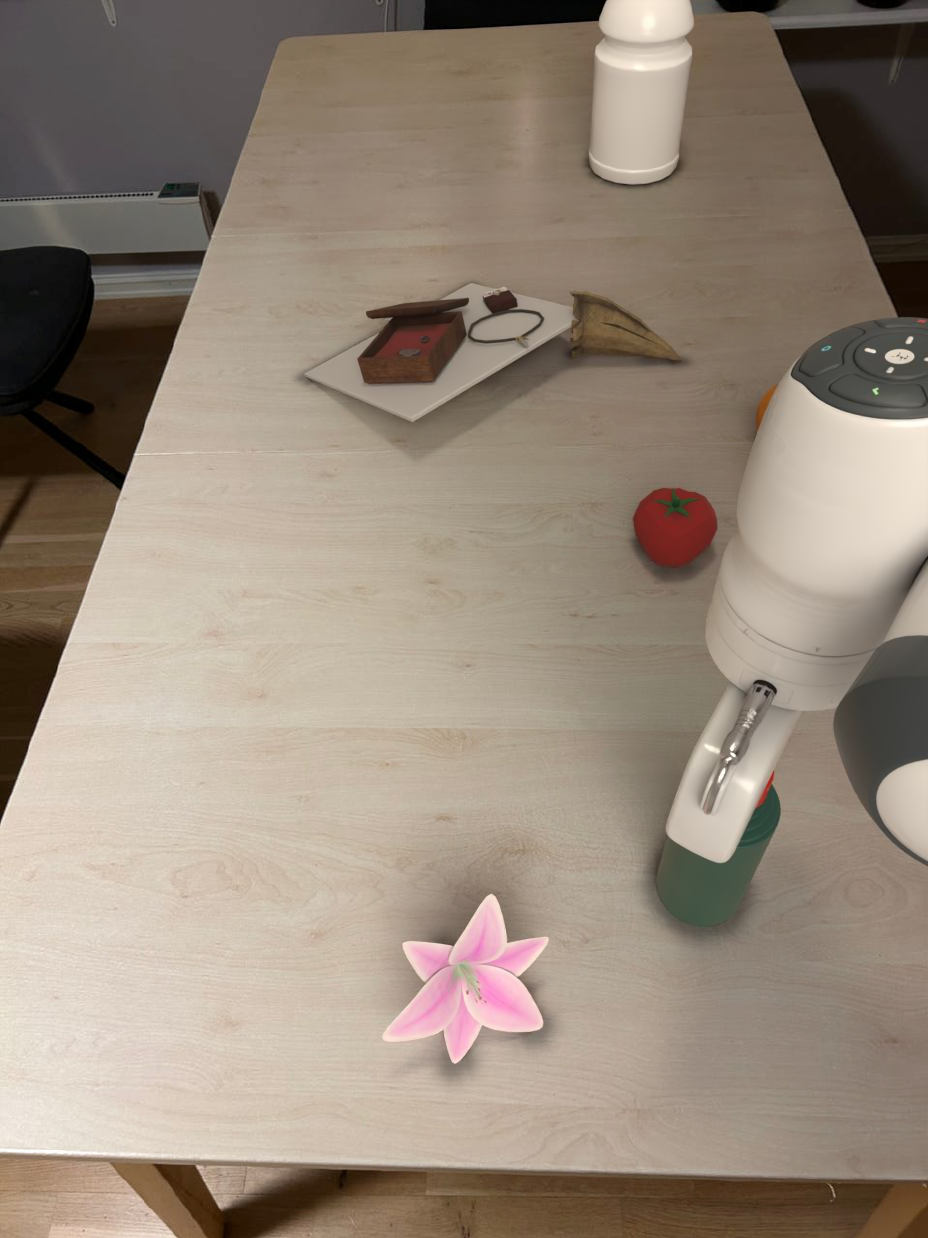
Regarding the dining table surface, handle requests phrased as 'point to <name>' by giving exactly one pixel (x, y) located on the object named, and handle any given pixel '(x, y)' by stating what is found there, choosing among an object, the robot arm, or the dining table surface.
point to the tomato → (674, 525)
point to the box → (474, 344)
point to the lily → (470, 985)
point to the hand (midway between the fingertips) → (745, 759)
